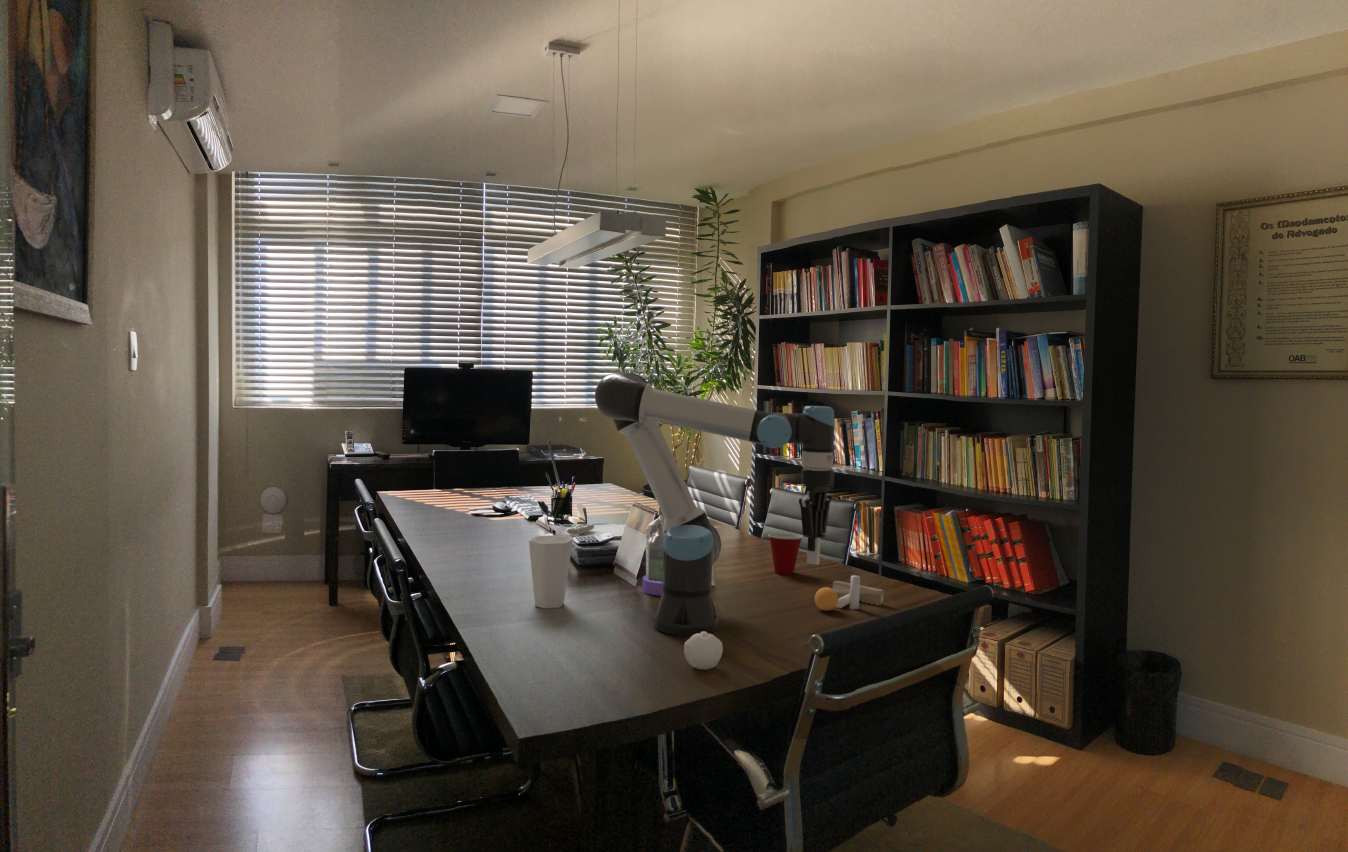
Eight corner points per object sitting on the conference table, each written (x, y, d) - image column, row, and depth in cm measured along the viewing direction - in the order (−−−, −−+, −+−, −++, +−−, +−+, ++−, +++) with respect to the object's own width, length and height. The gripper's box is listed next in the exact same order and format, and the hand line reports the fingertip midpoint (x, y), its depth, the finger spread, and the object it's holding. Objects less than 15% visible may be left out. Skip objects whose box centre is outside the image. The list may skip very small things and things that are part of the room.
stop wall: (879, 605, 215) (880, 591, 215) (832, 595, 224) (832, 581, 223) (882, 604, 217) (883, 589, 216) (835, 594, 225) (836, 580, 225)
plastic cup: (800, 569, 255) (802, 531, 254) (802, 577, 244) (804, 538, 243) (766, 567, 256) (767, 530, 255) (766, 575, 245) (768, 536, 244)
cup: (560, 612, 200) (562, 544, 199) (522, 609, 202) (523, 542, 201) (575, 600, 211) (576, 536, 210) (538, 597, 213) (540, 533, 212)
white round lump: (720, 662, 168) (721, 626, 168) (724, 675, 160) (725, 637, 160) (682, 661, 168) (683, 625, 167) (684, 675, 160) (685, 636, 160)
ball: (841, 603, 211) (836, 615, 206) (819, 602, 214) (813, 614, 209) (838, 583, 209) (833, 595, 204) (816, 582, 212) (810, 594, 207)
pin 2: (854, 609, 210) (856, 577, 210) (847, 607, 212) (848, 575, 212) (860, 608, 212) (862, 576, 211) (853, 606, 214) (855, 574, 213)
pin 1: (841, 598, 211) (854, 591, 218) (833, 600, 213) (846, 593, 220) (844, 607, 211) (856, 600, 218) (836, 609, 212) (849, 602, 219)
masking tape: (647, 597, 217) (648, 583, 217) (638, 586, 229) (638, 573, 228) (689, 595, 221) (689, 581, 220) (677, 585, 232) (678, 571, 232)
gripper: (817, 471, 190) (813, 570, 192) (842, 468, 200) (839, 561, 202) (790, 469, 195) (786, 565, 196) (816, 465, 205) (812, 556, 206)
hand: (813, 563), depth 199 cm, fingers closed
